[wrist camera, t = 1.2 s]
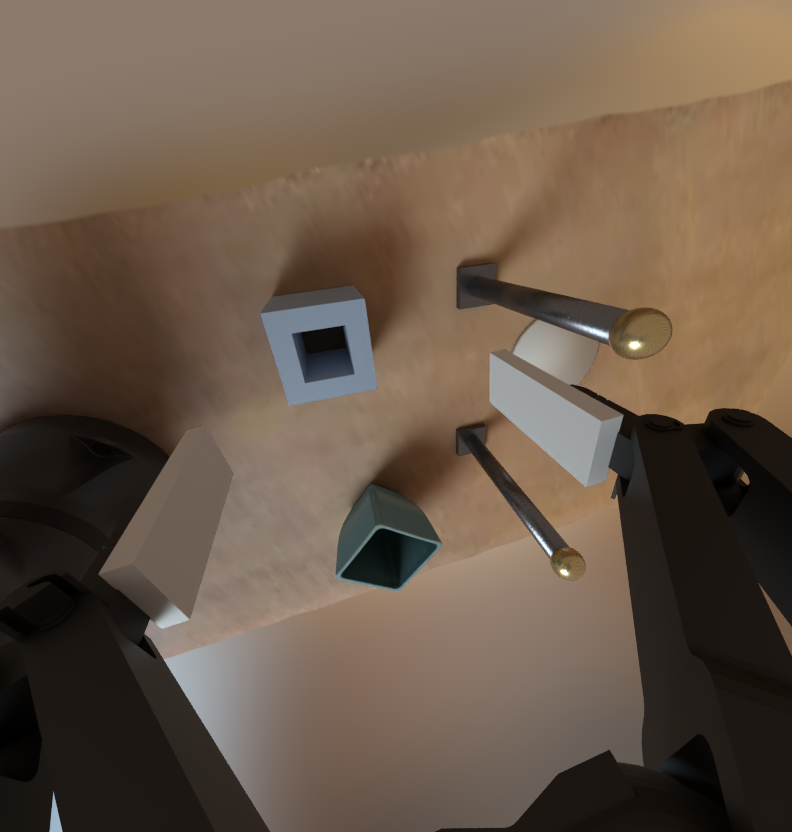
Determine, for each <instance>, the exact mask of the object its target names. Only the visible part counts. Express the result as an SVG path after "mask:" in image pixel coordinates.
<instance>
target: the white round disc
mask: <svg viewBox="0 0 792 832" xmlns="http://www.w3.org/2000/svg"><path fill="white" fill-rule="evenodd" d="M598 346H599V342H598V341H596V340H593V339H590V338H587V337H585V336H582V335H579V334H576V333H574V332H571V331H568V330H565V329H563V328H560V327H557V326H554V325H551V324H549V323H546V322H543V321H540V320H538V319H535V320H534V321H533V322H532V323H531V324H530V325H529V326H528V327H527V328H526V329H525V330H524V331H523V333H522V334H521V335H520V337H519V338H518V340H517V341H516V343H515V345H514V347H513V350H512V352H511V353H512V354H514V355H516V356H518V357H520V358H521V359H523V360H525V361H527V362H529V363H530V364H532V365H534V366H536V367H538V368H540V369H541V370H543V371H545V372H547V373H549V374H550V375H552V376H554V377H556V378H558V379H559V380H561V381H563V382H565V383H567V384H568V385H571V384H573V385H577V384H578V383H579V382H580V381H581V380H582V379H583V378H584V376H585V375H586V374H587V372H588V371H589V369H590V368H591V366H592V364H593V362H594V359H595V357H596V354H597V351H598Z"/></svg>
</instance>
